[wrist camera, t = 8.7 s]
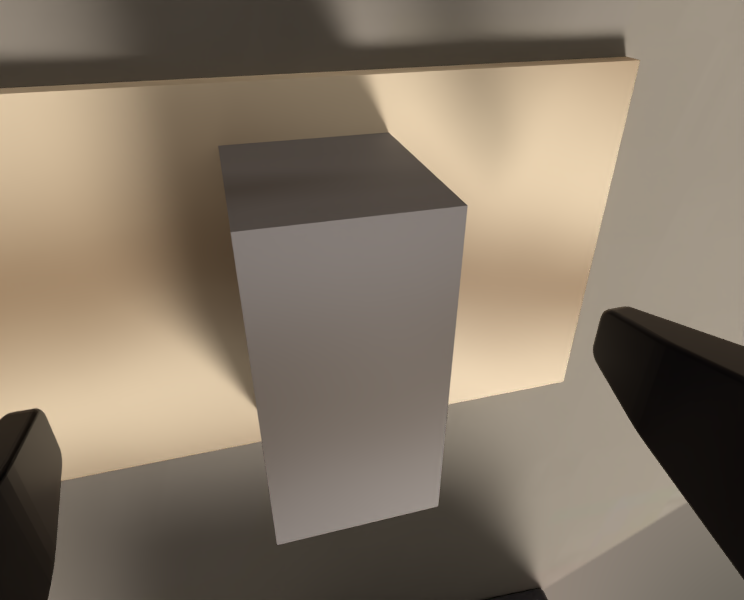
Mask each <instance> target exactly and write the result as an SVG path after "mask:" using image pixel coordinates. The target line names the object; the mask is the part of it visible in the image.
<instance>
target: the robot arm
mask: <svg viewBox="0 0 744 600" xmlns="http://www.w3.org/2000/svg"><path fill="white" fill-rule="evenodd" d="M593 354H594V358H595V361H596V363H597V364H598V366H599V368H600V370H601V371H602V373H603V375H604V376H605V378H606V380H607V382H608V383H609V385H610V387H611V388H612V390H613V392H614V394H615V395H616V397H617V399H618V400H619V402H620V404H621V406H622V407H623V409H624V411H625V413H626V414H627V416H628V418H629V419H630V421H631V423H632V424H633V426H634V428H635V429H636V431H637V432H638V434H639V435H640V437H641V438H642V440H643V441H644V442H645V444H646V445H647V447H648V448H649V449H650V451H651V452H652V454H653V455H654V456H655V458H656V459H657V460H658V462H659V463H660V465H661V466H662V467H663V469H664V470H665V472H666V473H667V474H668V476H669V477H670V478H671V480H672V481H673V483H674V484H675V485H676V487H677V488H678V489H679V491H680V492H681V494H682V495H683V496H684V498H685V499H686V501H687V502H688V503H689V505H690V506H691V507H692V509H693V510H694V512H695V513H696V514H697V516H698V517H699V519H700V520H701V521H702V523H703V524H704V525H705V527H706V528H707V530H708V531H709V532H710V534H711V535H712V537H713V538H714V539H715V541H716V542H717V543H718V545H719V546H720V548H721V549H722V550H723V552H724V553H725V555H726V556H727V557H728V558H729V560H730V561H731V562H732V564H733V566H734V567H735V568H736V570H737V571H738V572H739V574H740V575H741V577H742V578H743V579H744V346H741V345H739V344H736V343H733V342H730V341H727V340H724V339H721V338H718V337H715V336H713V335H710V334H707V333H704V332H701V331H698V330H695V329H692V328H689V327H687V326H684V325H681V324H678V323H675V322H672V321H669V320H666V319H663V318H660V317H658V316H655V315H652V314H649V313H646V312H643V311H640V310H637V309H634V308H632V307H618V308H612V309H608V310H606V311H604V313H603V314H602V316H601V318H600V322H599V326H598V330H597V334H596V337H595V341H594V345H593ZM61 475H62V454H61V450H60V447H59V445H58V442H57V440H56V438H55V435H54V433H53V431H52V428H51V426H50V424H49V422H48V419H47V417H46V415H45V413H44V412H43V411H42V410H40V409H38V408H33V409H27V410H21V411H15V412H11V413H8V414H6V415H5V416H3V417H2V418H1V419H0V600H48V596H49V591H50V586H51V580H52V575H53V569H54V561H55V552H56V540H57V527H58V514H59V501H60V488H61Z"/></svg>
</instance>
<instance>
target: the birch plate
mask: <svg viewBox="0 0 744 600" xmlns="http://www.w3.org/2000/svg"><path fill="white" fill-rule="evenodd" d="M639 63H640V60H637V59H633V58H629V57H609V58H589V59H569V60H549V61H530V62H510V63H490V64H470V65H451V66H431V67H411V68H391V69H372V70H352V71H332V72H313V73H293V74H273V75H253V76H234V77H214V78H194V79H174V80H155V81H135V82H115V83H95V84H76V85H56V86H36V87H17V88H0V419H1V418H2V417H3V416H5V415H6V414H8V413H11V412H15V411H21V410H27V409H33V408H38V409H40V410H42V411H43V412H44V413H45V415H46V417H47V419H48V422H49V424H50V426H51V428H52V431H53V433H54V435H55V438H56V440H57V442H58V445H59V447H60V450H61V454H62V475H61V481H63V480H69V479H74V478H79V477H84V476H89V475H94V474H99V473H104V472H109V471H114V470H119V469H124V468H129V467H134V466H139V465H144V464H149V463H154V462H160V461H165V460H170V459H175V458H180V457H185V456H190V455H195V454H200V453H205V452H210V451H215V450H220V449H225V448H230V447H235V446H240V445H245V444H250V443H256V442H261V441H262V447H263V454H264V461H265V467H266V474H267V481H268V487H269V494H270V501H271V508H272V514H273V521H274V528H275V535H276V541H277V545H280V544H284V543H288V542H292V541H297V540H301V539H305V538H309V537H313V536H317V535H322V534H326V533H330V532H334V531H338V530H342V529H346V528H351V527H355V526H359V525H363V524H367V523H371V522H375V521H380V520H384V519H388V518H392V517H396V516H400V515H404V514H409V513H413V512H417V511H421V510H425V509H429V508H433V507H438V503H439V493H440V483H441V472H442V462H443V452H444V442H445V432H446V421H447V411H448V404H453V403H458V402H463V401H468V400H473V399H478V398H483V397H488V396H493V395H498V394H503V393H508V392H513V391H518V390H523V389H528V388H533V387H538V386H544V385H549V384H554V383H559V382H563V381H564V376H565V372H566V368H567V364H568V360H569V356H570V351H571V347H572V343H573V339H574V335H575V331H576V326H577V322H578V318H579V314H580V310H581V305H582V301H583V297H584V293H585V289H586V285H587V280H588V276H589V272H590V268H591V264H592V259H593V255H594V251H595V247H596V243H597V239H598V234H599V230H600V226H601V222H602V218H603V213H604V209H605V205H606V201H607V197H608V193H609V188H610V184H611V180H612V176H613V172H614V167H615V163H616V159H617V155H618V151H619V147H620V142H621V138H622V134H623V130H624V126H625V121H626V117H627V113H628V109H629V105H630V101H631V96H632V92H633V88H634V84H635V80H636V75H637V71H638V67H639Z"/></svg>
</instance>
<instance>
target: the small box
mask: <svg viewBox="0 0 744 600" xmlns="http://www.w3.org/2000/svg"><path fill="white" fill-rule="evenodd" d="M488 600H548V599H547V597H546V595H545V593H544V592H543V590H541V589H534V590H529V591H525V592H521V593H516V594H510V595H506V596H502V597H497V598H493V599H488Z"/></svg>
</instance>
